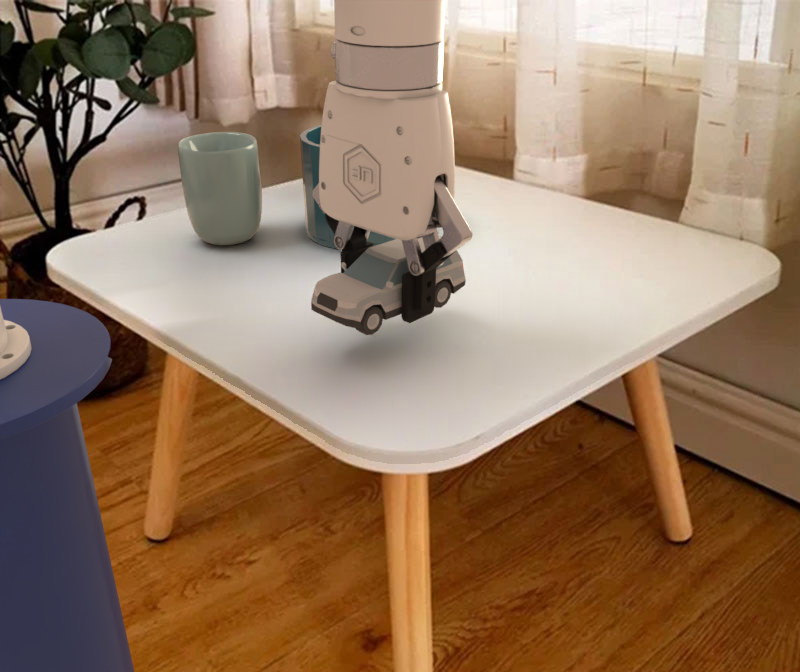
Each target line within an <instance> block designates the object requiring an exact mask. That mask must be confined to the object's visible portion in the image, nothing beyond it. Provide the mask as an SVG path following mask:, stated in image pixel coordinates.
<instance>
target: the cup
mask: <svg viewBox="0 0 800 672" xmlns="http://www.w3.org/2000/svg"><path fill="white" fill-rule="evenodd" d="M177 154H178V163H179V171H180V178H181V185H182V191H183V197H184V203H185V207H186V211H187V215H188V220H189V222H190V225H191V227H192V229H193V230H194V232H195V234H196V235H197V236H198V237H199V238H200V239H201V240H202V241H204V242H205V243H208V244H211V245H214V246H233V245H238V244H242V243H245V242H247V241H249V240H250V239H252V238H253V237H254V236H255V235H256V234H257V232H258V230H259V228H260V225H261V221H262V215H263V185H262V184H263V183H262V173H261V172H262V171H261V161H260V152H259V145H258V141H257V139H256V137H255V136H253V135H252V134H249V133H245V132H238V131H219V132H218V131H217V132H207V133H206V132H205V133H200V134H194V135H190V136H188V137H184V138H182V139H181V140H179V142H178V144H177Z"/></svg>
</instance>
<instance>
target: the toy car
mask: <svg viewBox="0 0 800 672" xmlns="http://www.w3.org/2000/svg"><path fill="white" fill-rule="evenodd" d="M441 237H442V236H441V235H439V239H440V238H441ZM418 240H419V244H420V248H421V252H422V253H423V252H424V251H425V246H424V242H423V238H422V237H421V238H418ZM341 267H342V268H343V269H344V270H345V272H344V273H341V272H337V273H332V274H330V275H328V276H325V277H323V278H321V279H320V280H318V281H317V282H316V284H315V286H314V288H313V292H312V296H311V299H310V306H311V309H310V310H311V311H313V312H314V313H316V314H318V315H321V316H323V317H324V318H327V319H329V320H331V321H333V322H335V323H338V324H340V325H342V326H345V327H348V328H353V329H355V330H356V331H357V332H359V333H361V334H363V335H365V336H373V335H374V334H375V333H376V332H378V331H379V330H380V328H381V326H382V325H383V321H387V320H390V319H393V318H395V317H397V316H401V310H402V275H403V273H405V272H408V271H409V268H408V264H407V260H406V256H405V252H404V248H403V244H402V240H398V239H395V240H392V241H389V242H386V243H383V244H379V245H376V246H373V247H370V248H368V249H367V250H366V251H365V252H364V253H363V254H362V255H361V256H360V257H359V258H358V259H357V260H356V261H355V262H354V263H353V264H352V265H351V266H350V267H349V268H348V269H346V264H345V263H344V262H342V263H341V262H340V268H341ZM466 279H467V277H466V273H465V268H464V261H463V259H462V257H461V254H460V253H459V251H458V249H457V250H456V251H455V252H454V253H453V254H452V255H451V256H450V257H449V258H448V259H446V260H445V261H444V263H443V265H442V266H439V267H437V268H436V289H435V304H434V308H436V309H441V308H442V307H444V306H445V305H447V303H449V301H450V299H451V295H454V294H456V293H457V292H458V291H459V290H461V289H462V288H463V287H464V286H466V281H467V280H466Z"/></svg>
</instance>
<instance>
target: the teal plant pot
mask: <svg viewBox="0 0 800 672" xmlns="http://www.w3.org/2000/svg"><path fill="white" fill-rule="evenodd" d="M321 126H322V123H321V124H317V125H313V126H311V127H308V128H307V129H305V130H303V131H302V132H301V133H300V135H299V144H300V158H301V159H300V160H301V161H300V162H301V174H302V187H303V188H302V190H303V203H304V217H305V219H304V220H305V227H306V234H307V237H308V238H309V239H310V240H311V241H312V242H314V243H316V244H318V245H321V246H323V247H327V248H331V249H337V250H339V249H338V248H337V247H336V246H335V244H334V236H335V235H334V233H333V231H332V230H331V228H330V226H329V225H328V223H327V221H326V219H325V213H323V212H322V210H321V208H320V207H319V205H318V204H317V202H316V201H315V199H314V197H313V190H314V189H315V187H316V186H317V185H318V183H319V157H320V138H321ZM392 240H395V238H391V237H388V236H384V235H381V234H378V233H375V232H372V231H370V234H369V237H368V239H367V240H366V242H372V243H373V246H376V245H379V244H383V243H386V242H389V241H392Z"/></svg>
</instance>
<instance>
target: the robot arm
mask: <svg viewBox="0 0 800 672" xmlns="http://www.w3.org/2000/svg"><path fill="white" fill-rule="evenodd" d="M333 3H334V4H333V9H334V42H332V44H331V45H330V49H329V50H330V51H329V52H330V56H331V58H332V59H333V60H334V61H335V62H334V67H335V80H332V81H330V82H329V83H328V85H327V89H326V94H325V98H324V104H323V109H322V118H321V124H322V126H321V138H320V157H319V183H318V185H317V186H316V187H315V189H314V190H313V197H314V199H315V201H316V202H317V204H318V205H319V207H320V208H321V210H322V212H323V213H325V219H326V221H327V223H328V225H329V226H330V228H331V230H332V231H333V233H334V235H335V236H334V244H335V246H336V247H337V248H338V249H337V250H340V264H341V263H342V262H344V263H345V264H346V269H348V268H349V267H350V266H351V265H352V264H353V263H354V262H355V261H356V260H357V259H358V258H359V257H360V256H361V255H362V254H363V253H364V252H365V251H366V250H367V249H368V248H370V247H373V243H372V242H366V240H367V239H368V237H369V234H370V231H372V232H375V233H378V234H381V235H384V236H388V237H391V238H395V239H398V240H402V244H403V248H404V252H405V256H406V260H407V264H408V268H409V271H408V272H405V273H403V275H402V310H401V314H400V316H401V319H402V321H403V322H405V323H408V324H411V323H414V322H416V321H418V320H419V319H422V318H424V317H426V316H429V315H430V314H432V313H433V312H434V310H435V307H434V304H435V289H436V268H437V267H439V266H442V265H443V263H444V261H445V260H446V259H448V258H449V257H450V256H451V255H452V254H453V253H454V252H455V251H456V250H457V251H458V250H459V249H461V247H463V246H465V244H467V243H468V242H470V241H471V240H472V238H473V231H472V229H471V227H470V226H469V224H468V222H467V220H466V219H465V217H464V215H463V213H462V211H461V210H460V208H459V207H458V205H457V203H456V201H455V195H456V194H455V192H456V191H455V190H456V165H455V141H454V129H453V118H452V113H451V105H450V99H449V92H448V91H447V90H444V89H443V75H444V74H443V73H444V49H445V48H444V47H445V46H444V45H445V22H446V0H333ZM439 228H441V229H442V233H443V234H442V236H441V238H440V239H439V236H440V235H439V231H438V229H439ZM421 237H422V238H423V242H424V246H425V251H424V252H423V253H422V252H421V248H420V244H419V240H418V238H421ZM344 272H345V270H344V269H343V268H342V267H341V266H340V273H344ZM31 349H32V348H31V343H30V337H29V335H28V333H27V331H26V330H25V329H24V328H23V327H21V326H20V325H18V324H15V323H13V322H11V321H7V320H4V319H3V315H2V311H1V307H0V380H1V379H3V378H5V377H7V376H8V375H10V374H12V373H13V372H15V371H16V370H17V369H18V368H19V367H21V366H22V365H23V364H24V363H25V362H26V360H27V359H28V357H29V356H30V353H31Z"/></svg>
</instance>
